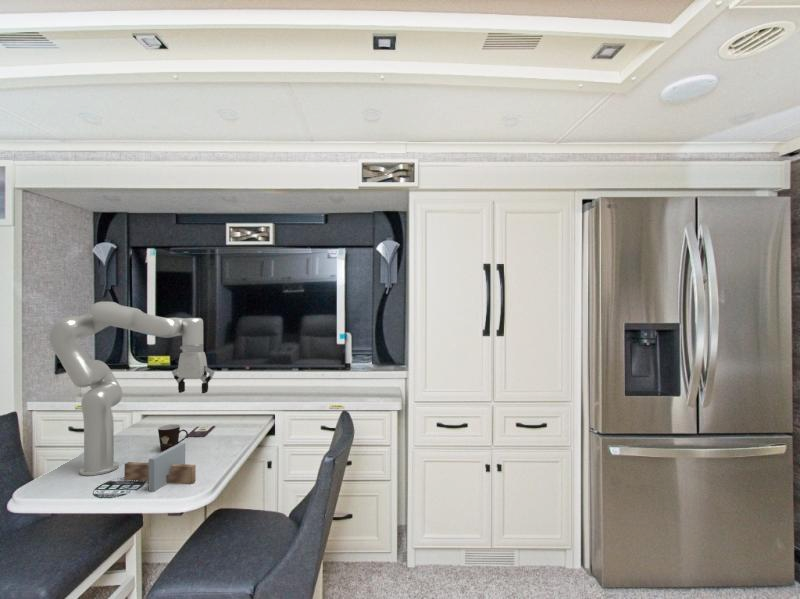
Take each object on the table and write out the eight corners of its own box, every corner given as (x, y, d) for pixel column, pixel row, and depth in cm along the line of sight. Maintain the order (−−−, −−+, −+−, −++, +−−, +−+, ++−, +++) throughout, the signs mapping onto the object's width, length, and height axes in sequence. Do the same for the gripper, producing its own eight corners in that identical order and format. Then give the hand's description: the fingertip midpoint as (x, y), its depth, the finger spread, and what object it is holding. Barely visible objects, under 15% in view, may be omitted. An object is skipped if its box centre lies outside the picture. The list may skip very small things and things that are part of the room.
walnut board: (124, 480, 167) (124, 463, 167) (128, 478, 169) (128, 462, 169) (192, 483, 163) (192, 466, 163) (195, 481, 165) (195, 464, 165)
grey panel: (154, 491, 157) (154, 459, 157) (148, 491, 157) (148, 458, 157) (185, 472, 174) (185, 443, 175) (180, 472, 175) (180, 442, 175)
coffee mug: (153, 451, 199) (153, 428, 199) (171, 445, 207) (170, 423, 207) (172, 455, 194) (172, 431, 194) (189, 449, 202) (189, 426, 202)
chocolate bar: (184, 436, 219) (196, 426, 237) (184, 438, 219) (196, 428, 237) (204, 436, 220) (215, 425, 238) (204, 437, 220) (215, 427, 238)
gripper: (166, 350, 181) (166, 393, 181) (208, 350, 179) (208, 394, 178) (178, 348, 188) (178, 390, 188) (218, 348, 186) (218, 391, 186)
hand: (193, 392), depth 183 cm, fingers open, 9 cm apart
